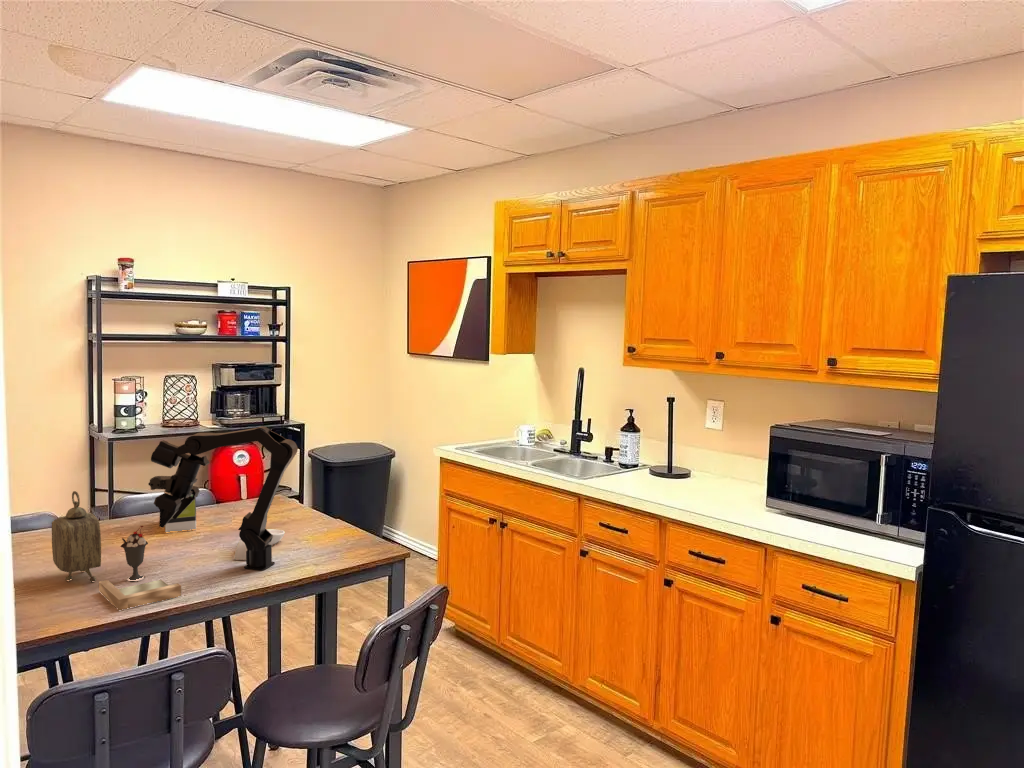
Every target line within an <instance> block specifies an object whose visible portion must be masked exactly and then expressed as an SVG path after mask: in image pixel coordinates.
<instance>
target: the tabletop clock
mask: <svg viewBox="0 0 1024 768" xmlns="http://www.w3.org/2000/svg"><path fill="white" fill-rule="evenodd" d="M75 496H76V499H77V500H76V501H75ZM71 501H72V504H73V507H72V508H70V509H69V510H67V512H66V514H65V515H64V516H59V517H57V518H56V519H54V520H53V521H51V546H52V547H51V549H52V550H51V551H52V560H53V563H54V565H55V566H56V567H57V569H59V571H62V572H66V573H68V575H67V576H66V577H65V581H66V580H70V579H72V580H73V576H72V573H74V572H80V571H85V572H84V573H86V575H88V577H89V582H90V581H91V582H90V583H93V582H92V581H95V582H96V581H97V577H96V576H94V575H92V573H91V571H90V569H91V570H92V569H95V568H99V567H101V564H102V538H101V525H100V521H99V519H98V517H96V516H95V515H94V514H93V513H92V512H87V511H86V509H85V508H83V507H80V503H81V501H80V495H79V493H78V491H77V490H76V491H75V490H74V491H72V494H71Z"/></svg>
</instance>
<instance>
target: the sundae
mask: <svg viewBox="0 0 1024 768" xmlns="http://www.w3.org/2000/svg"><path fill="white" fill-rule="evenodd" d="M143 527H144V526H143V525H140V527H139V528H138V529H137V530H136V531H133V533H132V534H130V535H129V536H128V537H127V539H125V538H123V537H122V538H121V540H122V542H123V543H122V544H121V545H120V548H123V550H124V554H125V558H126V563H127V565H128V566H130V567H131V568H132V574H131V576H129V577H130V578H129V579H130V580H136V579H139V578H142V577H143V576H144V575H142V576H140V574H139V570H138V569H139V566H141V564H143V562H144V557H145V549H146V546H147V545H148V544H149V542H148V541H146V539H145V537H143V536H144V535H143V533H142V528H143ZM138 531H139V532H138Z"/></svg>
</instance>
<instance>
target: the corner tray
mask: <svg viewBox="0 0 1024 768" xmlns="http://www.w3.org/2000/svg"><path fill="white" fill-rule="evenodd" d="M98 590H99V591H100V592H101V593H102V594H103V595H104V596H105V597H106V598H107V599H108V600H109V601H110V602H111V603H112V604H113V605H114V606H115V607H116V608H118V610H122V609H127V608H130V607H135V606H138V605H143V604H147V603H152V602H156V603H158V602H157V601H160V602H163V601H162V600H164V601H167V600H166V599H169V600H171V599H170V598H173V599H176V598H175V597H177V598H179V597H178V596H181V597H182V585H181V584H180V583H175V584H174V583H173V584H167V583H166V581H164V580H162V579H157V580H154V581H149V582H145V583H144V582H143V583H139V584H136V585H131V586H127V587H126V586H125V587H121V588H117V587H116V586H115V585H113V583H112V582H110V581H109V579H105V580H102V581H101V580H100V581H98ZM106 598H105V599H106ZM107 599H106V600H107ZM108 600H107V601H108ZM109 601H108V602H109ZM110 602H109V603H110ZM111 603H110V604H111ZM112 604H111V605H112ZM152 604H153V603H152ZM113 605H112V606H113ZM114 606H113V607H114ZM115 607H114V608H115ZM116 608H115V609H116ZM135 608H136V607H135ZM118 610H117V611H118ZM127 610H128V609H127Z"/></svg>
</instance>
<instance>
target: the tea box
mask: <svg viewBox="0 0 1024 768" xmlns="http://www.w3.org/2000/svg"><path fill="white" fill-rule="evenodd" d="M193 486H195V483H194V484H193ZM164 493H166V494H169V495H171V493H167V492H165V489H163V494H164ZM191 496H192V497H193V495H191ZM196 500H197V497H196V498H195V500H194V501H193V502H192V503H191V504H190V505H189V506H188V507H187V508H186V509H185V510H184V511H183V512H182V513H181V514H180V515H179V516H178V517H177V518H176V519H174V518H171V519H170V520H169V522H168V523H167V524H166V525H165V526H164V529H165V531H164V532H170V531H182V530H190V529H191V530H192V529H196V530H197V501H196Z"/></svg>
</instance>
